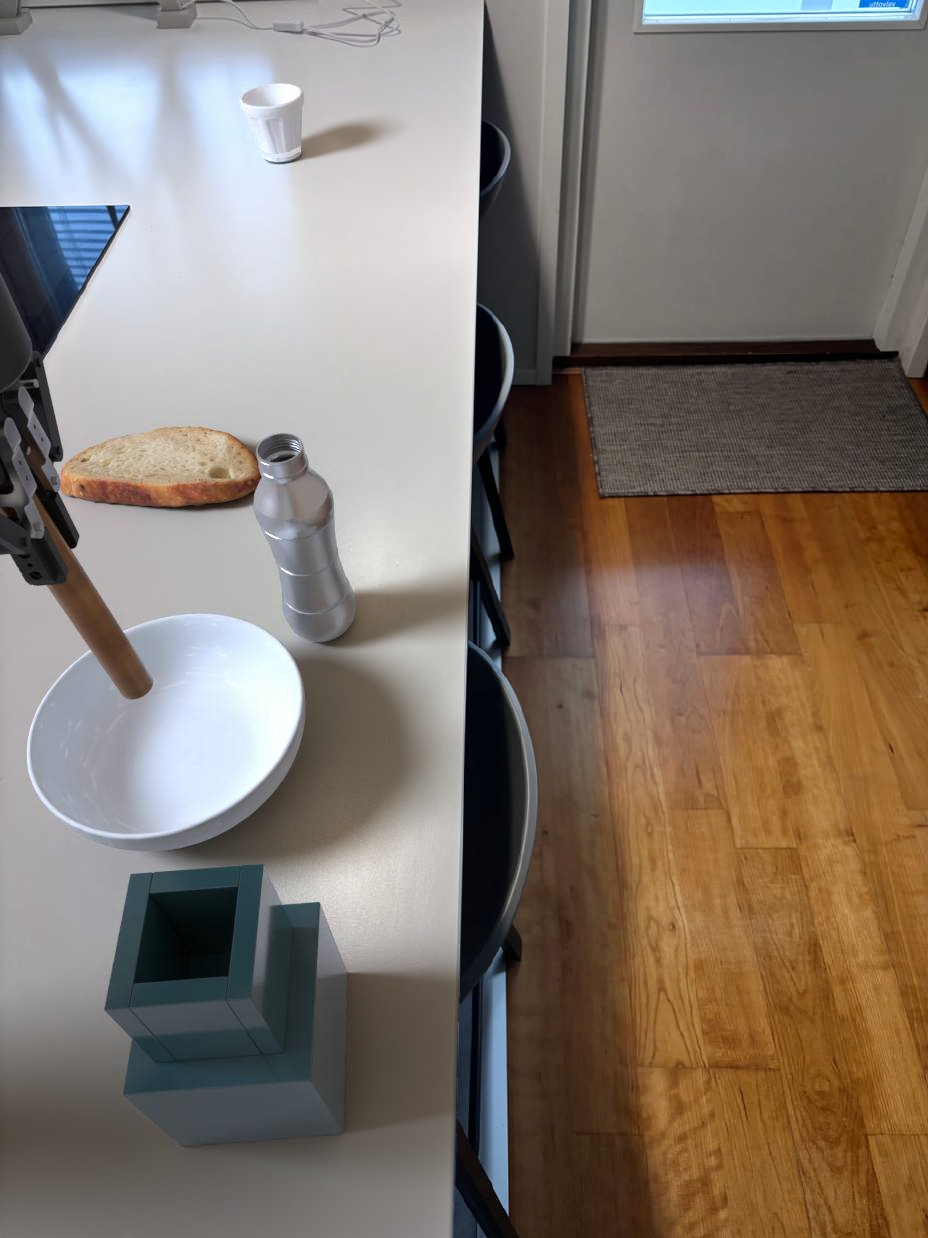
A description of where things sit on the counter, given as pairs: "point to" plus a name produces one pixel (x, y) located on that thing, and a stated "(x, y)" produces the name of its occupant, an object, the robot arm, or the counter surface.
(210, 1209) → the counter surface
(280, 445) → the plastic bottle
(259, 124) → the cup
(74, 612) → the stick
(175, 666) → the serving bowl
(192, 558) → the counter surface
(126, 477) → the bread slice
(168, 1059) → the utensil holder
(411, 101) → the counter surface
